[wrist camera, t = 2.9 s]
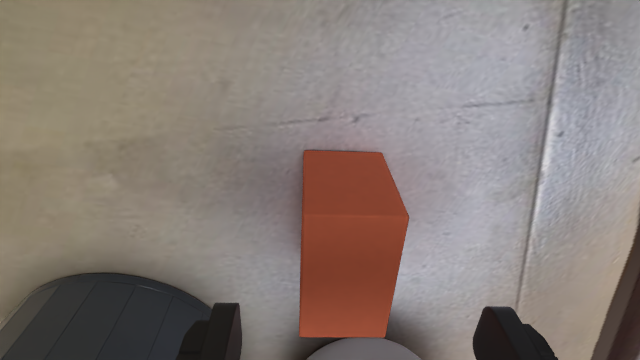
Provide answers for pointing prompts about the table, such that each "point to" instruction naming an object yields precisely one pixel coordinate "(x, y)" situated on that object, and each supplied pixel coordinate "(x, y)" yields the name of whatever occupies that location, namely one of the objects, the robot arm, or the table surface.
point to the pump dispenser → (363, 350)
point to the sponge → (349, 244)
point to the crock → (100, 320)
